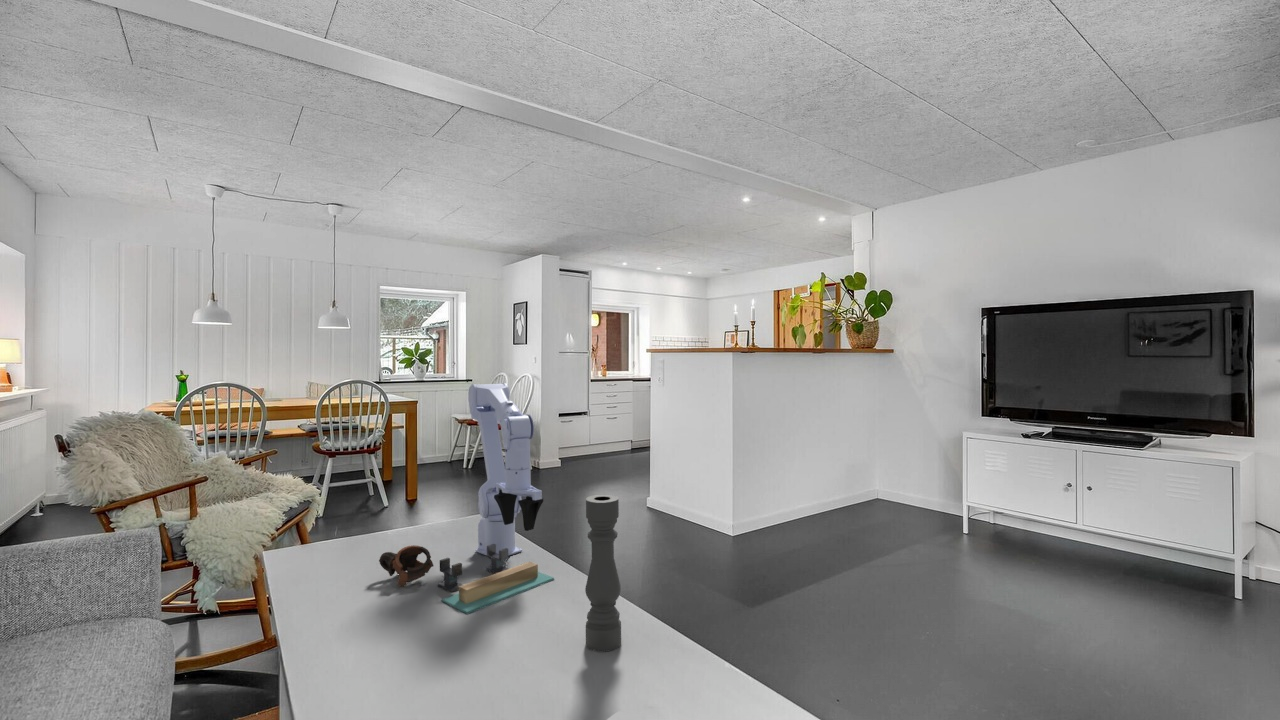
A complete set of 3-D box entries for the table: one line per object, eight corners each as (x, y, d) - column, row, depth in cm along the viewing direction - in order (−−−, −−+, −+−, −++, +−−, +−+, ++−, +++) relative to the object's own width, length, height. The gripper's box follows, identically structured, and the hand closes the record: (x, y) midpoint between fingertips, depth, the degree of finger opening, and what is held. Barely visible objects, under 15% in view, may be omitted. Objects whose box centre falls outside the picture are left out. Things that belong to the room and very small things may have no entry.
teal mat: (442, 601, 116) (442, 599, 116) (528, 569, 133) (528, 568, 133) (467, 613, 110) (467, 611, 110) (554, 579, 127) (554, 577, 127)
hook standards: (437, 586, 124) (437, 560, 124) (495, 566, 135) (495, 543, 135) (451, 592, 120) (451, 566, 120) (510, 571, 132) (510, 548, 132)
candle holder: (616, 653, 95) (615, 503, 95) (581, 649, 97) (579, 502, 96) (625, 635, 101) (623, 494, 101) (591, 632, 103) (590, 493, 103)
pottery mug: (436, 570, 135) (440, 545, 131) (421, 604, 126) (425, 578, 123) (385, 559, 134) (387, 534, 130) (366, 592, 125) (368, 566, 121)
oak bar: (459, 600, 116) (458, 586, 116) (529, 573, 129) (529, 561, 129) (466, 604, 114) (466, 590, 114) (537, 576, 128) (537, 564, 128)
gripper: (484, 466, 134) (485, 525, 134) (523, 474, 124) (524, 536, 124) (509, 462, 139) (510, 518, 139) (548, 469, 129) (549, 529, 129)
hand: (518, 526), depth 132 cm, fingers open, 7 cm apart
